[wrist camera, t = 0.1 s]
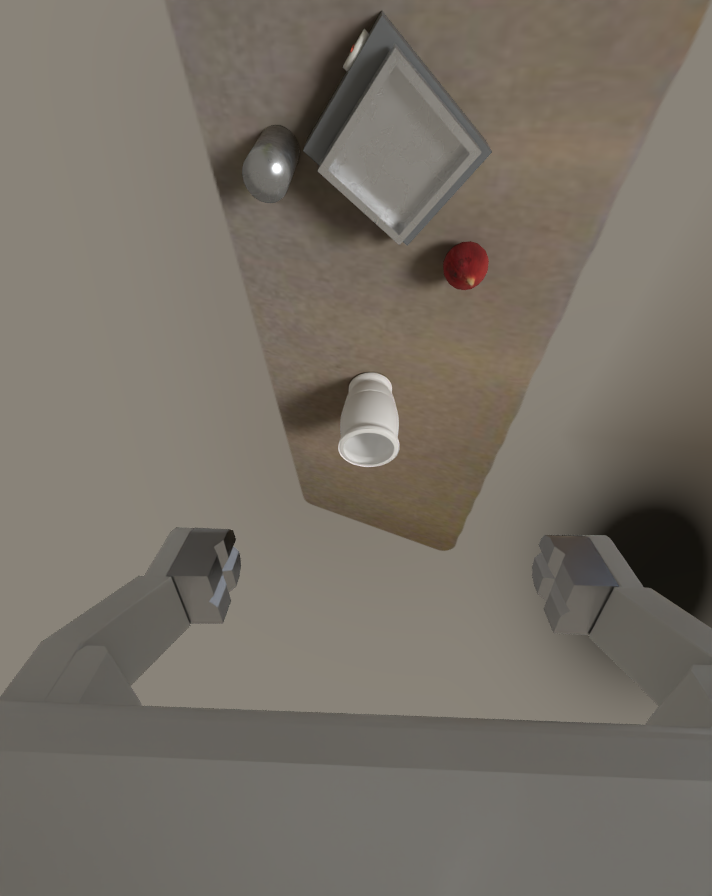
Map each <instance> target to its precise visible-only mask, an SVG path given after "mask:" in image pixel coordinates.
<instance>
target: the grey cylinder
mask: <svg viewBox="0 0 712 896" xmlns="http://www.w3.org/2000/svg"><path fill="white" fill-rule="evenodd" d="M298 160H299V146H298V143H297V140H296V138H295V136H294V135H293V134H292V133H291V132H290V131H289V130H288V129H287V128H285V127H283V126H281V125H271V126H269V127H267V128H266V129H265V130H264V131H263V132H262V134H261V135H260V137H259V138H258V140H257V142H256V143H255V145H254V146H253V148H252V149H251V151H250V153H249V154H248V156H247V157H246V159H245V161H244V163H243V168H242V175H243V180H244V183H245V186H246V188H247V189H248V191H249V192H250V193H251V194H252V195H253V196H254V197H255V198H256V199H258V200H260V201H262V202H265V203H275V202H277V201H279V200H281V199H282V198H283V197H284V195H285V194H286V192H287V189H288V187H289V184H290V182H291V179H292V176H293V174H294V171H295V169H296V166H297V163H298Z"/></svg>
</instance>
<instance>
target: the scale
mask: <svg viewBox="0 0 712 896" xmlns="http://www.w3.org/2000/svg"><path fill="white" fill-rule="evenodd" d="M394 43H396V45H397V46H398V47H399V48H400V50H401V51H402V52H403V53H404V55H405V56H406V57H407V58H408V59H409V61H410V62H411V63H412V64H413V66H414V67H415V68H416V69H417V70H418V72H419V73H420V74H421V75H422V77H423V78H424V79H425V80H426V82H427V83H428V84H429V85H430V86H431V88H432V89H433V90H434V91H435V93H436V94H437V95H438V96H439V97H440V99H441V100H442V101H443V102H444V104H445V105H446V106H447V107H448V108H449V110H450V111H451V112H452V113H453V115H454V116H455V117H456V118H457V120H458V121H459V122H460V123H461V124H462V126H463V127H464V128H465V129H466V131H467V132H468V133H469V134H470V135H471V137H472V138H473V139H474V140H475V142H476V143H477V144H478V146H479V148H480V150H481V152H482V153H481V154H480V155H479V156H478V157H477V159H476V160H475V161H474V162H473V163H472V164H471V165H470V166H469V168H468V169H467V170H466V171H465V172H464V173H463V174H462V175H461V177H460V178H459V179H458V180H457V181H456V182H455V183H454V184H453V186H452V187H451V188H450V189H449V190H448V191H447V192H446V193H445V195H444V196H443V197H442V198H441V199H440V200H439V201H438V202H437V204H436V205H435V206H434V207H433V208H432V209H431V210H430V211H429V213H428V214H427V215H426V216H425V217H424V218H423V219H422V220H421V222H420V223H419V224H418V225H417V226H416V227H415V228H414V229H413V231H412V232H411V233H410V234H409V235H408V236H407V237H406V238H405V240H404V241H403V242H404V243H405V244H406V245H408V244H409V243H410V242H411V241H412V240H413V239H414V238H415V237H416V235H417V234H418V233H419V232H420V231H421V230H422V229H423V228H424V227H425V226H426V224H427V223H428V222H429V221H430V220H431V219H432V218H433V217H434V216H435V215H436V213H437V212H438V211H439V210H440V209H441V208H442V207H443V206H444V205H445V203H446V202H447V201H448V200H449V199H450V198H451V197H452V196H453V195H454V194H455V192H456V191H457V190H458V189H459V188H460V187H461V186H462V185H463V184H464V182H465V181H466V180H467V179H468V178H469V177H470V176H471V175H472V174H473V173H474V171H475V170H476V169H477V168H478V167H479V166H480V165H481V164H482V163H483V162H484V160H485V159H486V158H487V157H488V156H489V155H490V154H491V153H492V151H491V149H490V147H489V146H488V144H487V142H486V140H485V139H484V138H483V136H482V135H481V134H480V133H479V131H478V130H477V129H476V128H475V126H474V125H473V124H472V123H471V121H470V120H469V119H468V118H467V116H466V115H465V114H464V113H463V111H462V110H461V109H460V108H459V106H458V105H457V104H456V103H455V101H454V100H453V99H452V98H451V96H450V95H449V94H448V93H447V91H446V90H445V89H444V88H443V86H442V85H441V84H440V83H439V81H438V80H437V79H436V78H435V76H434V75H433V74H432V73H431V71H430V70H429V69H428V68H427V66H426V65H425V64H424V63H423V61H422V60H421V59H420V58H419V56H418V55H417V54H416V53H415V51H414V50H413V49H412V48H411V46H410V45H409V44H408V43H407V41H406V40H405V39H404V38H403V36H402V35H401V34H400V33H399V31H398V30H397V29H396V28H395V26H394V25H393V24H392V23H391V21H390V20H389V19H388V18H387V16H386V15H385V14H384V13H383V11H381V13H380V15H379V17H378V18H377V20H376V22H375V23H374V25H373V27H372V29H371V30H370V32H369V33H368V32H367V31H366V30H365V29H364V30H363V31H362V33H361V35H360V36H359V38H358V40H357V41H356V43H355V45H354V44H353V46H352V48H351V52H350V54H349V56H348V57H347V59H346V61H345V63H344V65H343V68H344V69H345V70H346V71H347V72H346V73H345V75H344V77H343V79H342V80H341V82H340V84H339V86H338V87H337V89H336V91H335V92H334V94H333V96H332V98H331V99H330V101H329V103H328V104H327V106H326V108H325V110H324V111H323V113H322V115H321V117H320V118H319V120H318V122H317V123H316V125H315V127H314V129H313V130H312V132H311V134H310V136H309V137H308V139H307V141H306V144H305V147H304V149H303V151H304V152H305V153H306V154H307V155H308V156H310V157H311V158H312V159H313V160H314V161H315V162H316V163H317V164H318V165H319V164H320V161H321V160H322V158H323V156H324V155H325V153H326V152H327V150H328V148H329V147H330V145H331V144H332V142H333V140H334V139H335V137H336V136H337V134H338V132H339V131H340V129H341V128H342V126H343V124H344V123H345V121H346V120H347V118H348V116H349V115H350V113H351V112H352V110H353V108H354V107H355V105H356V104H357V102H358V100H359V99H360V97H361V96H362V94H363V92H364V91H365V89H366V88H367V86H368V84H369V83H370V81H371V80H372V78H373V76H374V75H375V73H376V72H377V70H378V68H379V67H380V65H381V64H382V62H383V60H384V59H385V57H386V56H387V54H388V52H389V51H390V49H391V48H392V46H393V44H394Z"/></svg>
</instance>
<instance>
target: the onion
mask: <svg viewBox="0 0 712 896" xmlns="http://www.w3.org/2000/svg"><path fill="white" fill-rule="evenodd" d="M488 262H489V261H488V256H487V254H486V251H485V250H484V249H483V248H482V247H481V246H480V245H479V244H478V243H474V242H471V241H470V242H462V243H460V244H458V245H455V246H454V247H453V248H452V249H451V250H450V251H449V252H448V253H447V255H446V257H445V260H444V264H443V269H444V276H445V278H446V279H447V281H448V283H449V284H450V285H452V286H453V287H455V288H456V289H461V290H468V289H472V288H474V287H475V286H477V285H478V284H479V283H480V282H481V281H482V280H483V279H484V277H485V275H486V273H487V270H488Z"/></svg>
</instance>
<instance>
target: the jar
mask: <svg viewBox="0 0 712 896" xmlns="http://www.w3.org/2000/svg"><path fill="white" fill-rule="evenodd" d="M398 430H399V418H398V412H397V408H396V405H395V400H394V397H393V395H392V385H391V383H390V381H389V380H388V379H387V378H386V377H385V376H383V375H381V374H378V373H363V374H360V375H358V376H356V377H355V378H354V379H353V380H352V381H351V383H350V385H349V394H348V395H347V398H346V400H345V404H344V408H343V410H342V414H341V421H340V432H341V438H340V441H339V447H338V449H339V453H340V455H341V456H342V457H343V458H344V459H345V460H346V461H348V462H350V463H352V464H354V465H358V466H363V467H375V466H380V465H384V464H386V463H388V462H390V461H392V460H393V459H394V458H395V457H396V456H397V454H398V452H399V441H398V438H397V437H398Z"/></svg>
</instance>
